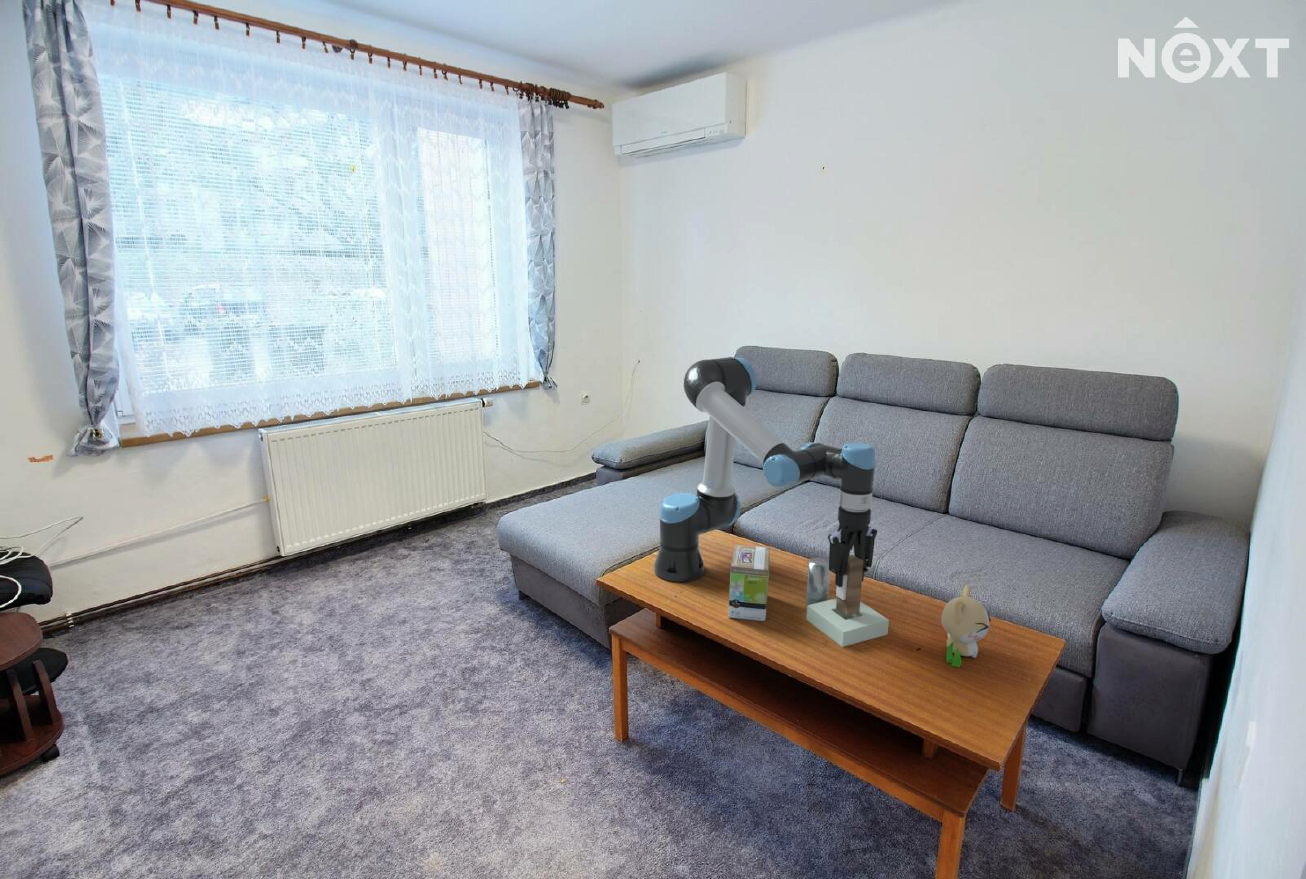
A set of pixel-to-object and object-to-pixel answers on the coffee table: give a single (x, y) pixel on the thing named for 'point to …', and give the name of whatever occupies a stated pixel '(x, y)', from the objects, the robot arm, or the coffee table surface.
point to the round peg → (818, 581)
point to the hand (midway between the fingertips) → (848, 595)
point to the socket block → (847, 623)
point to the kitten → (964, 626)
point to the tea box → (749, 582)
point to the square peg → (852, 587)
